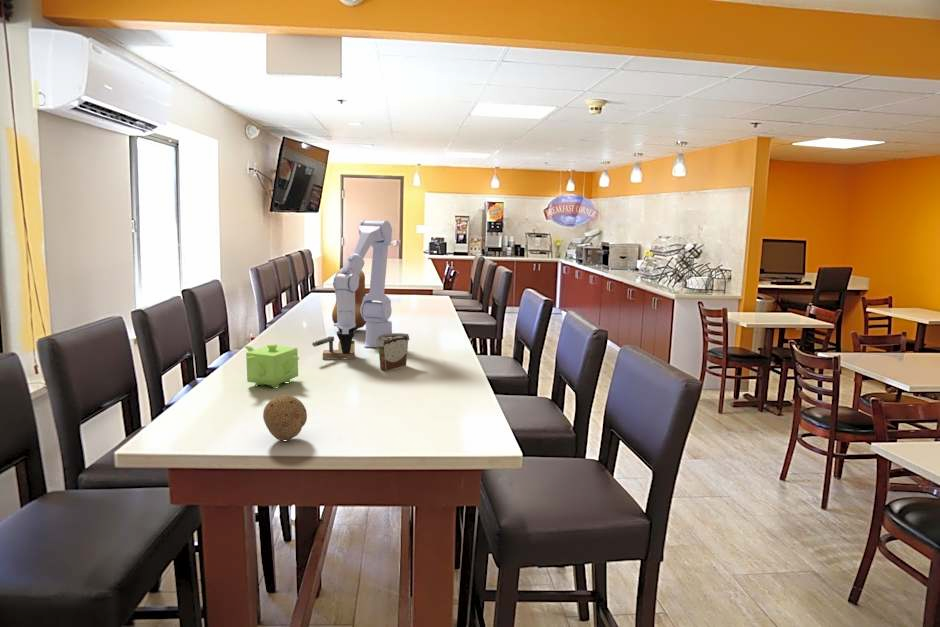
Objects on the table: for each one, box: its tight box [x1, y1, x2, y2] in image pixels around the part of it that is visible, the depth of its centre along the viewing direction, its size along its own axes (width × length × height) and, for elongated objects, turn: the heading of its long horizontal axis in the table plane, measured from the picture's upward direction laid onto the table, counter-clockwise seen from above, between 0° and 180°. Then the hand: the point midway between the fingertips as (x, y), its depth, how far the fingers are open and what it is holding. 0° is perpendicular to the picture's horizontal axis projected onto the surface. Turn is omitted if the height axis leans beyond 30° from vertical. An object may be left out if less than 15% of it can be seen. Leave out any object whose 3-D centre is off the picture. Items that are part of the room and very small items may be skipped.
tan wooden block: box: [337, 340, 356, 353], centre depth 208 cm, size 5×5×3 cm
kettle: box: [243, 343, 300, 389], centre depth 177 cm, size 15×14×11 cm
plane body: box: [321, 341, 356, 360], centre depth 208 cm, size 10×5×5 cm, turn 98°
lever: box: [312, 335, 335, 348], centre depth 203 cm, size 10×2×2 cm, turn 157°
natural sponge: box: [262, 394, 308, 441], centre depth 136 cm, size 9×9×10 cm
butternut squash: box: [331, 267, 367, 331], centre depth 247 cm, size 14×13×25 cm
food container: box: [376, 332, 410, 373], centre depth 197 cm, size 12×6×10 cm, turn 145°
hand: (346, 351), depth 208 cm, fingers open, 6 cm apart
